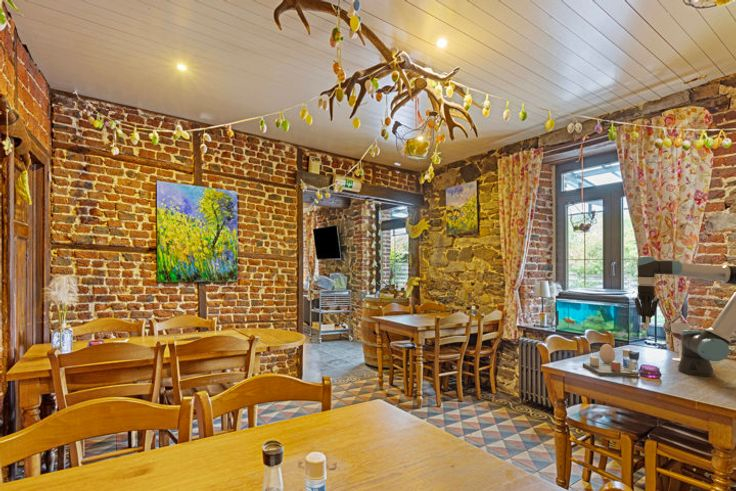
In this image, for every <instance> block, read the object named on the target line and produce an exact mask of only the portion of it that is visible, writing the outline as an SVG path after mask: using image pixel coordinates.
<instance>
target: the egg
mask: <svg viewBox="0 0 736 491" xmlns="http://www.w3.org/2000/svg"><path fill="white" fill-rule="evenodd" d="M598 353H599V359H600V360H601V362H603V364H611V361H615V359H616V352H615V350H614V348H613V346H611V345H610V344H609V343H605V344H603V345H602V346H600V349H599V352H598Z"/></svg>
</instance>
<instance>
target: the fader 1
mask: <svg viewBox="0 0 736 491" xmlns="http://www.w3.org/2000/svg"><path fill="white" fill-rule="evenodd" d="M589 363H590V364H591V365H593V366H599V363H600V357H597V356H589Z"/></svg>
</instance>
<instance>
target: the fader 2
mask: <svg viewBox="0 0 736 491" xmlns="http://www.w3.org/2000/svg"><path fill="white" fill-rule="evenodd" d="M610 364H611V369H612V370H614V371H621V365H622V364H621V362H619V361H617V360H614V361H611V363H610Z"/></svg>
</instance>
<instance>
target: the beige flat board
mask: <svg viewBox="0 0 736 491" xmlns="http://www.w3.org/2000/svg"><path fill="white" fill-rule="evenodd" d="M582 367H583V368H584V369H586V370H588V371H590V372H592V373H594V374H595V375H597V376H599V377H621V378H622V377H623V378H624V377H625V378H626V377H627V378H630V377H629V376H631V375H634V374H637V373H638V372H637V373H634V374H633V373H630V372H627V371H625V370H624V367H625V366H624V367H623V365H622V364H621V371H614V370H612V369H611V363H610V364H606V363H604V362H603V363H601V362H599V366H593V365H591V364H590V362H582Z"/></svg>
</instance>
